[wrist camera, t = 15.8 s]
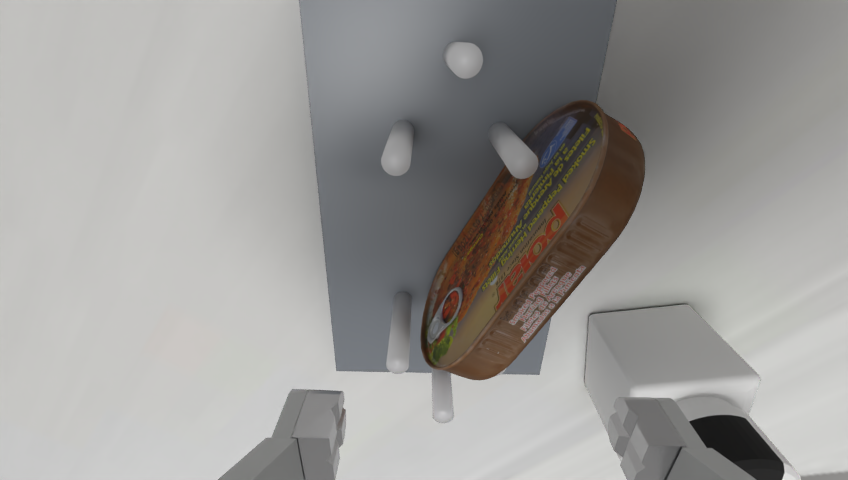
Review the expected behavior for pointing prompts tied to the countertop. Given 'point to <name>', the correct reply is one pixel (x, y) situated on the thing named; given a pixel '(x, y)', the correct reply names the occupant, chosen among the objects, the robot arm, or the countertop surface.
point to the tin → (532, 241)
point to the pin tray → (428, 146)
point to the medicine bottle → (682, 380)
